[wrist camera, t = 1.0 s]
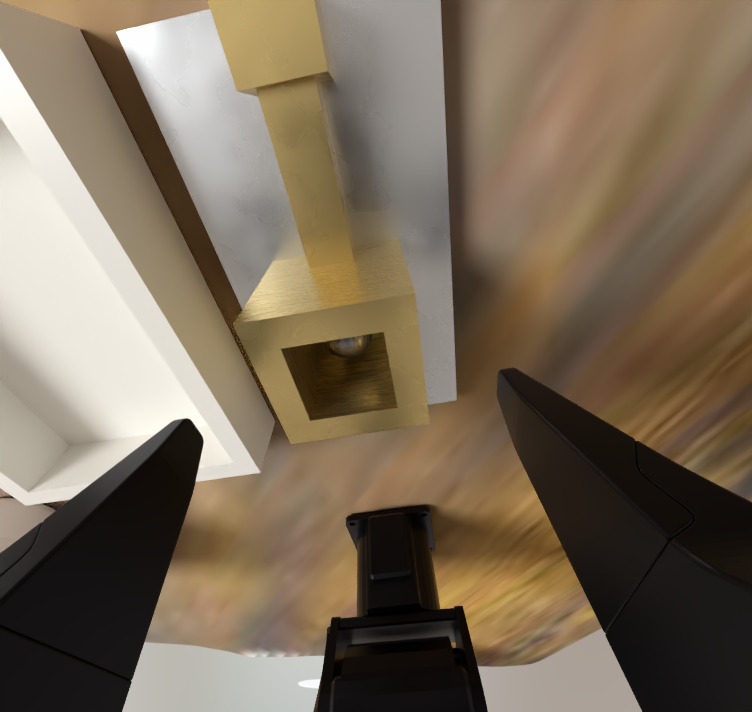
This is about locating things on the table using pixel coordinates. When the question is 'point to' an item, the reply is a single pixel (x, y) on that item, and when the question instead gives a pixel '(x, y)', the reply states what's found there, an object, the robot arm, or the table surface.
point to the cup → (19, 519)
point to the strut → (319, 249)
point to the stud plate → (351, 144)
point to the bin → (98, 288)
